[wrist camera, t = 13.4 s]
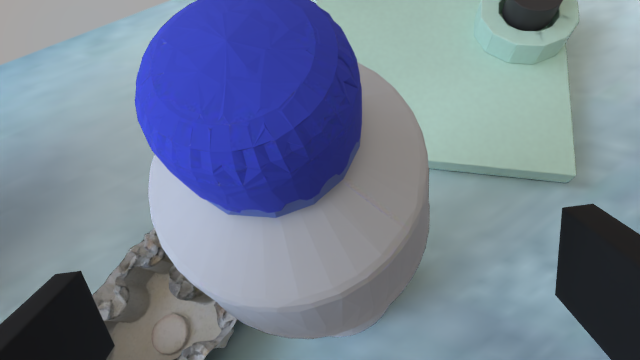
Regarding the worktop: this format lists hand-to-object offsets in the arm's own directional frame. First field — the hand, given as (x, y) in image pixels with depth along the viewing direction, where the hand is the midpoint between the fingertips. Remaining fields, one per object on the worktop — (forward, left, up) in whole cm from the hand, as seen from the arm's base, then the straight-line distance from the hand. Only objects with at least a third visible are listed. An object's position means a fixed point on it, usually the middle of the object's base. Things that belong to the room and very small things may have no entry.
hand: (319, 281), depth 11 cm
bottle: (-1, +2, -13) cm, 13 cm away
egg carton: (-10, -1, -13) cm, 16 cm away
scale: (+3, +17, -13) cm, 21 cm away
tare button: (+9, +21, -10) cm, 25 cm away
